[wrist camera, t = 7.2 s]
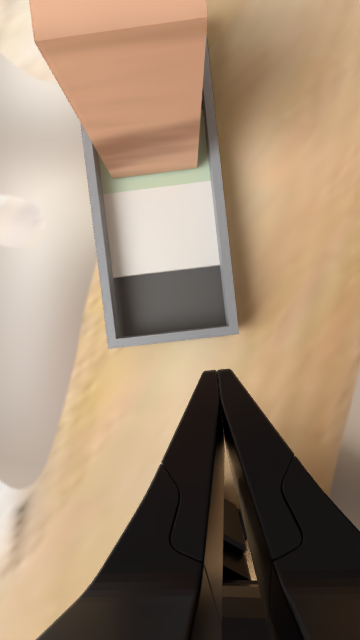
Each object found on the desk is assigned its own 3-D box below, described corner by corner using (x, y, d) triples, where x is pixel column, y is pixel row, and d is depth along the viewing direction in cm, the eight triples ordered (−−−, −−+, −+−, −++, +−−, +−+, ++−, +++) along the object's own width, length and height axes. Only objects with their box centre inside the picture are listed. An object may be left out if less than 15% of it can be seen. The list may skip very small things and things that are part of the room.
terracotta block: (196, 167, 21) (207, 16, 10) (112, 178, 21) (34, 41, 10) (187, 80, 21) (187, -169, 10) (102, 92, 21) (11, -141, 10)
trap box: (234, 331, 22) (238, 334, 20) (115, 345, 23) (108, 348, 21) (201, 29, 22) (202, 0, 20) (78, 46, 22) (67, 20, 20)
